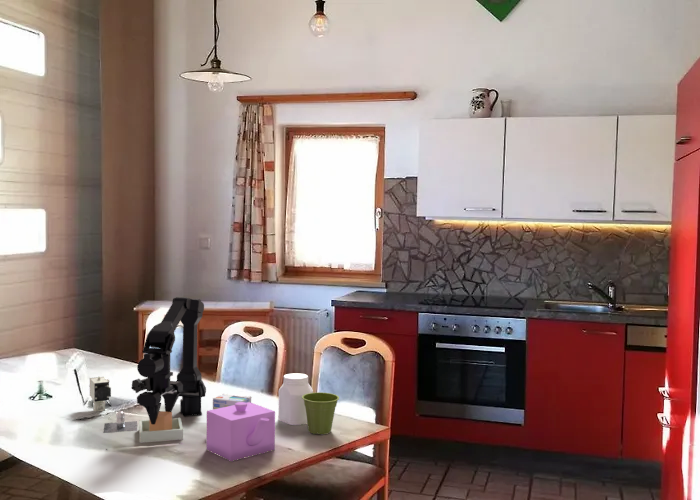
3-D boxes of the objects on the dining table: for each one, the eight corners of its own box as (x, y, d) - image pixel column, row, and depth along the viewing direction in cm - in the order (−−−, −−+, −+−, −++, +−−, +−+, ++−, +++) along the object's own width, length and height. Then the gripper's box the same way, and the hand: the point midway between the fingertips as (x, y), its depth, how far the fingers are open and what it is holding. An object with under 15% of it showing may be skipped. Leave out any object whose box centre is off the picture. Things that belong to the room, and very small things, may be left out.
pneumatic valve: (95, 416, 240) (95, 381, 239) (89, 407, 250) (88, 374, 250) (112, 414, 243) (112, 379, 242) (105, 406, 253) (105, 372, 252)
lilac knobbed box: (245, 469, 194) (245, 418, 194) (197, 445, 213) (198, 399, 212) (289, 456, 205) (290, 408, 204) (240, 435, 223) (240, 391, 222)
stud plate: (136, 422, 234) (136, 406, 234) (137, 432, 224) (137, 414, 224) (104, 425, 231) (104, 408, 231) (103, 434, 221) (103, 417, 221)
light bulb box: (251, 429, 229) (252, 396, 229) (241, 435, 223) (242, 401, 222) (222, 425, 233) (222, 392, 232) (211, 431, 226) (211, 397, 226)
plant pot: (325, 439, 220) (325, 403, 219) (294, 433, 226) (294, 397, 225) (345, 430, 230) (346, 395, 229) (315, 423, 236) (315, 390, 236)
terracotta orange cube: (157, 431, 224) (157, 410, 223) (171, 432, 222) (172, 412, 222) (149, 436, 219) (149, 415, 218) (164, 437, 218) (164, 416, 217)
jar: (317, 421, 239) (318, 377, 238) (295, 426, 232) (295, 381, 232) (295, 413, 247) (296, 370, 247) (273, 419, 241) (274, 375, 240)
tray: (180, 428, 228) (180, 417, 228) (182, 441, 216) (183, 429, 216) (139, 431, 225) (139, 420, 225) (139, 444, 213) (139, 432, 212)
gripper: (152, 362, 230) (151, 409, 231) (120, 374, 212) (120, 426, 213) (183, 364, 228) (183, 412, 229) (154, 377, 210) (154, 429, 210)
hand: (160, 419), depth 220 cm, fingers open, 9 cm apart
